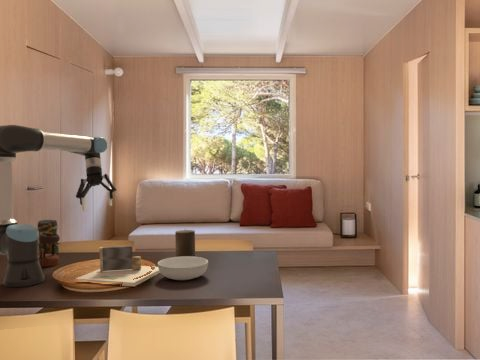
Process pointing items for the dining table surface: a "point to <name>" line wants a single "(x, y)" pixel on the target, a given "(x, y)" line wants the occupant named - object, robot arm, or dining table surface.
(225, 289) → the dining table surface
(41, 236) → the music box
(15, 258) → the robot arm
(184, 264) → the serving bowl
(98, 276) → the board
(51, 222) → the camouflage backpack
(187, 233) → the pillar candle
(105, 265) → the peg head
